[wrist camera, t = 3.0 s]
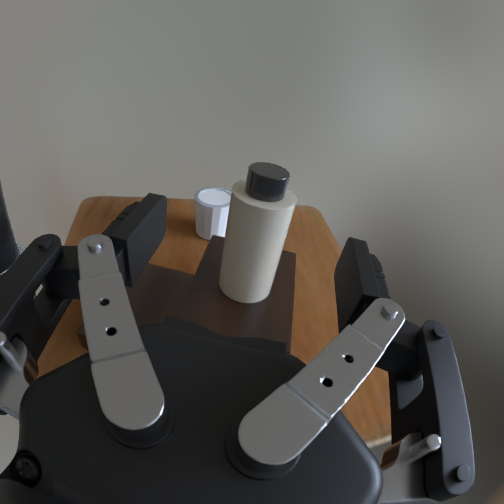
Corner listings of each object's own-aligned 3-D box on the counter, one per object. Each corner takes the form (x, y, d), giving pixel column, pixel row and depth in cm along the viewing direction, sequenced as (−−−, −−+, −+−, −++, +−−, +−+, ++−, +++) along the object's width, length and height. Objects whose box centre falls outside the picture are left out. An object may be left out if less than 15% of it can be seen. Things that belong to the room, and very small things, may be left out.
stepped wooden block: (82, 347, 30) (59, 288, 24) (128, 273, 42) (122, 214, 36) (265, 400, 30) (290, 352, 24) (277, 309, 41) (296, 253, 35)
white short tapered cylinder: (197, 245, 50) (200, 209, 45) (188, 222, 54) (190, 188, 50) (236, 240, 52) (242, 205, 48) (223, 218, 57) (227, 185, 53)
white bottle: (212, 295, 28) (229, 174, 21) (224, 261, 32) (242, 152, 25) (267, 308, 28) (302, 191, 20) (273, 273, 32) (302, 166, 25)
